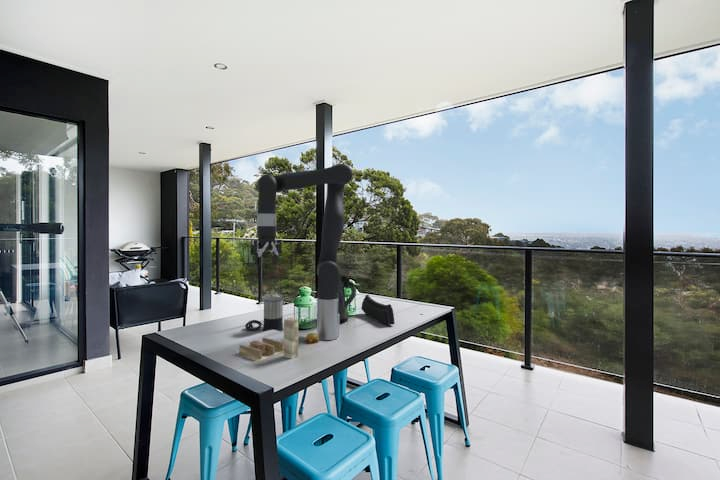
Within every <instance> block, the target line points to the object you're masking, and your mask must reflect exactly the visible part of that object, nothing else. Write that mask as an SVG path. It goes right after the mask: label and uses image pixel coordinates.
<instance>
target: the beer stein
mask: <svg viewBox="0 0 720 480" xmlns="http://www.w3.org/2000/svg"><path fill="white" fill-rule="evenodd" d="M345 288H350V291H351V293H350V296H349V297H348V298H347V299H346V292H345ZM356 295H357V286H356V284H355V283H354V282H353V281H350V277H349V276H347V275H343V274H341V273H340V290H339V299H338V314H339V315H340V319H339V325H343V323H344V324H346V323H347V322H348V321H349V311H348V308H347V307H348V306H349V305H350V304H351V303H352V302H353V300H354V299H355V297H356ZM345 322H346V323H345Z"/></svg>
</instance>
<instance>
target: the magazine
mask: <svg viewBox="0 0 720 480" xmlns="http://www.w3.org/2000/svg"><path fill="white" fill-rule="evenodd" d="M360 309H361V311H362V312H363V313H364V314H365V315H366V314H367V315H366V316H368V317H369V318H370V317H371V319H372V318H373V319H372V320H374V319H375V320H374V321H376V320H377V321H376V322H378V321H379V322H378V323H380V322H381V323H380V324H385V325H389V326H390V325H391V326H393V325H395V324H396V323H395V316H394V315H395V314H394V309H393V307H392V304H390V303H388V304H383V303H380V302H377V301H376V300H374V299H373V298H372V297H370V295H368V294H365V296H364V298H363V300H362V303H361V308H360Z"/></svg>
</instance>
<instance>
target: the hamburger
mask: <svg viewBox="0 0 720 480" xmlns="http://www.w3.org/2000/svg"><path fill="white" fill-rule="evenodd" d="M319 341H320V339H319V338H318V335H317V333H314V332H310V333H307V334H306V336H305V342H306V343H307V344H317V343H319Z"/></svg>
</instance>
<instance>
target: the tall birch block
mask: <svg viewBox="0 0 720 480" xmlns="http://www.w3.org/2000/svg"><path fill="white" fill-rule="evenodd" d="M283 343H284V352H283V357H284V358H287V359H291V360H294V359H295V358H298V357H299V318H294V317H288V318H285V319H283Z"/></svg>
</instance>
